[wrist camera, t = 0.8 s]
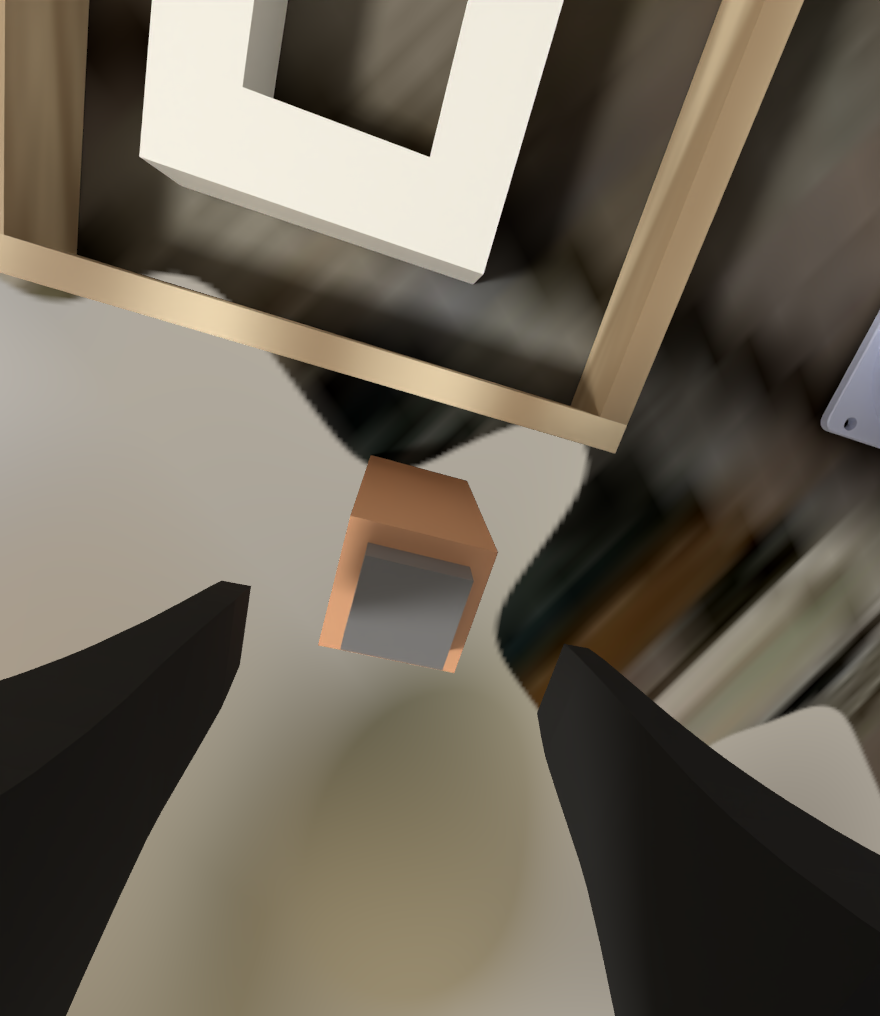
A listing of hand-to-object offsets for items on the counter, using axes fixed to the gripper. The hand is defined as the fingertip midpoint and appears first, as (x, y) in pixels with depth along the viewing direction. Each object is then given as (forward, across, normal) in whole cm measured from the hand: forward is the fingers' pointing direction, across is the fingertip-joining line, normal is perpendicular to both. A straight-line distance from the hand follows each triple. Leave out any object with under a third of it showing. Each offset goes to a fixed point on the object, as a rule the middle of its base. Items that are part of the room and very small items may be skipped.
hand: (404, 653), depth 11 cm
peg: (+9, 0, 0) cm, 9 cm away
